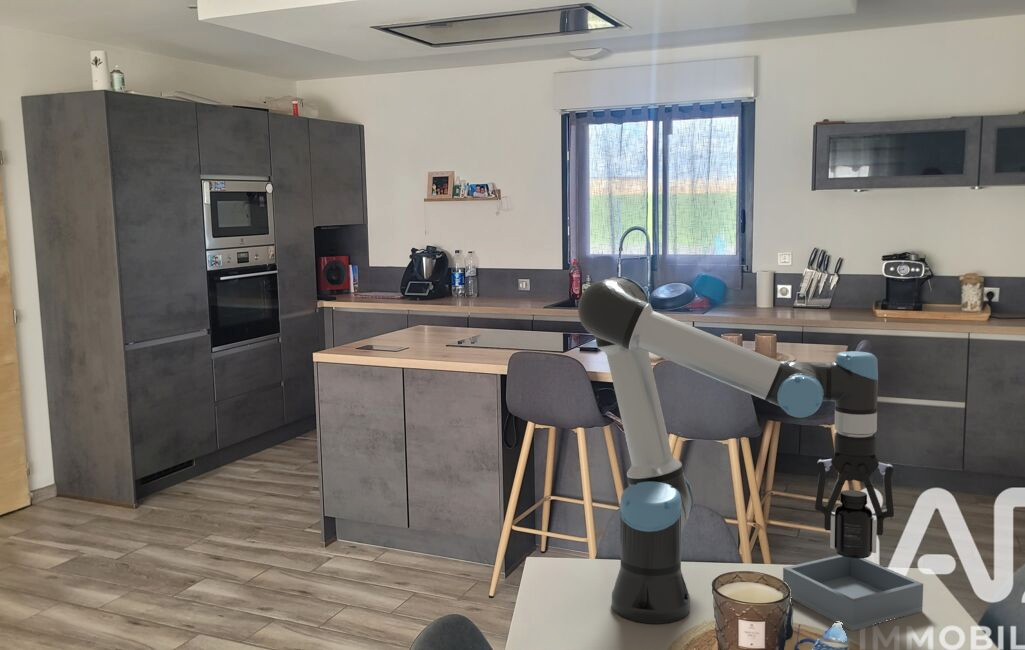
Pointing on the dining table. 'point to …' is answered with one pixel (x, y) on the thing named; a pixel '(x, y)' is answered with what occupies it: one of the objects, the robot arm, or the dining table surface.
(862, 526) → the supplement bottle
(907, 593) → the open box
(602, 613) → the dining table surface
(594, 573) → the dining table surface
